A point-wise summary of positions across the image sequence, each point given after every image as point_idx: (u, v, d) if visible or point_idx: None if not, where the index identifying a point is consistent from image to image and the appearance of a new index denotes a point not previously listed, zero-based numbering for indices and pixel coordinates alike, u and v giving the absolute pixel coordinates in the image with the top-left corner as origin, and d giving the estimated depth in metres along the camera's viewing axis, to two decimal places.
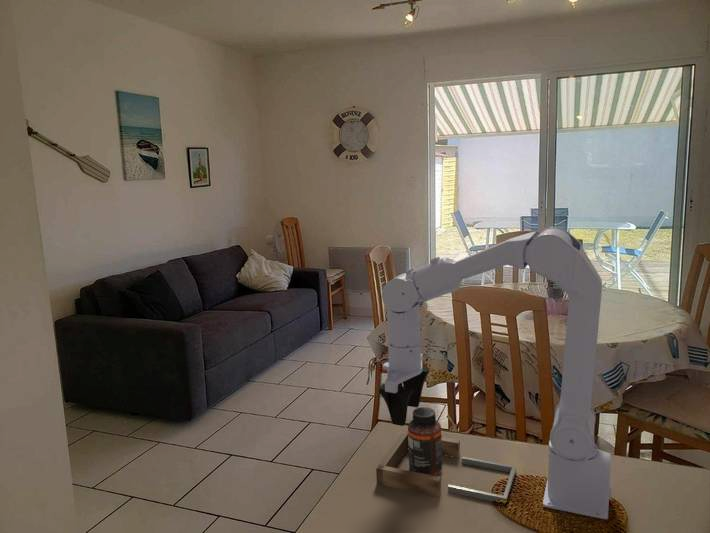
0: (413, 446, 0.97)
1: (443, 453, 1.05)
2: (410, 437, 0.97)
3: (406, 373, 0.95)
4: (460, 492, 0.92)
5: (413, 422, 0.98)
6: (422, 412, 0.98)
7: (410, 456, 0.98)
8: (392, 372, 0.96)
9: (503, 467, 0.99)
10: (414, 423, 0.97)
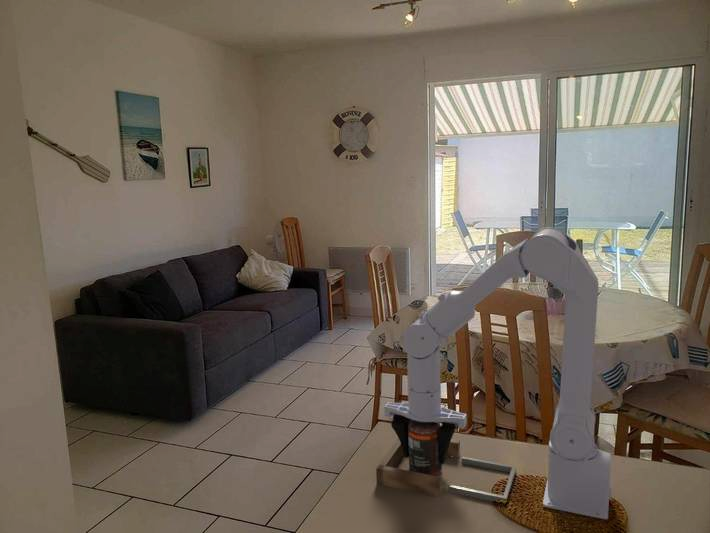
0: (413, 445, 0.97)
1: None
2: (410, 437, 0.97)
3: (407, 411, 0.98)
4: (460, 492, 0.92)
5: (413, 422, 0.98)
6: None
7: (410, 456, 0.98)
8: None
9: (503, 467, 0.99)
10: (414, 423, 0.97)
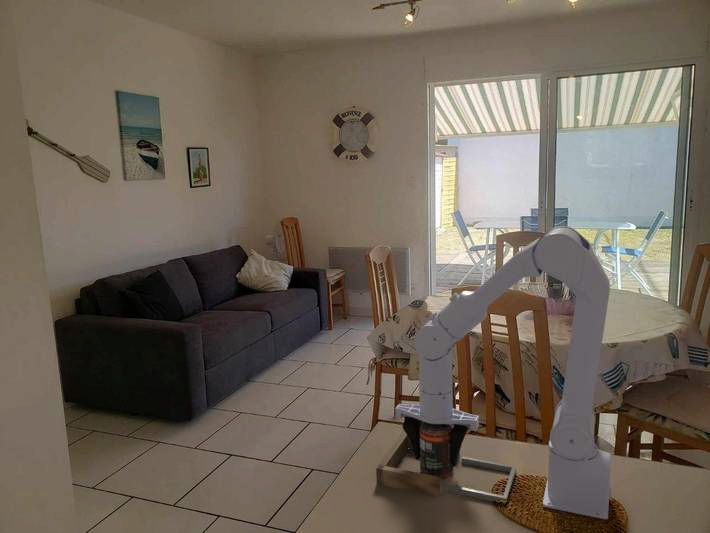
0: (424, 447, 0.96)
1: None
2: (422, 438, 0.96)
3: (419, 413, 0.97)
4: (460, 492, 0.92)
5: (425, 424, 0.97)
6: None
7: (421, 458, 0.98)
8: None
9: (503, 467, 0.99)
10: (426, 424, 0.97)
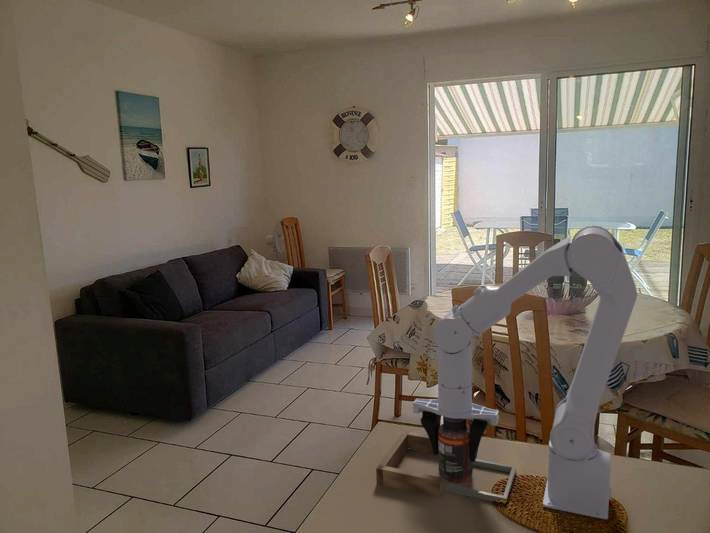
0: (444, 451, 0.95)
1: None
2: (442, 442, 0.95)
3: (437, 407, 0.95)
4: (460, 492, 0.92)
5: (444, 427, 0.96)
6: None
7: (441, 462, 0.96)
8: None
9: (503, 467, 0.99)
10: (445, 428, 0.95)
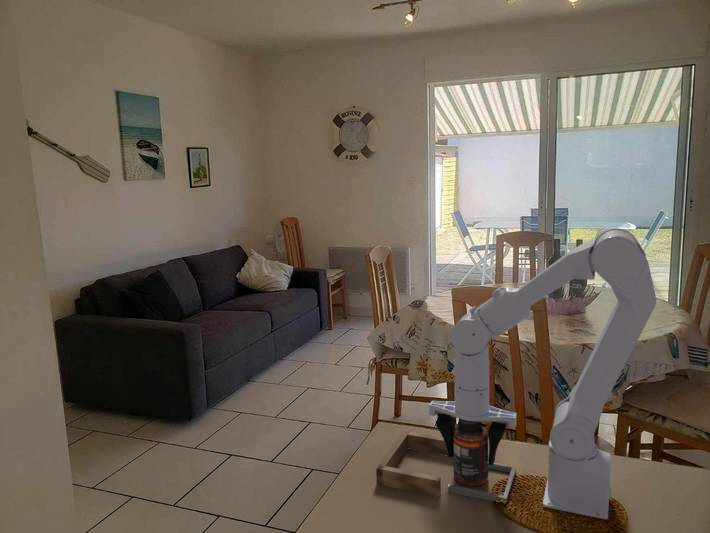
0: (460, 454, 0.94)
1: (443, 453, 1.05)
2: (458, 444, 0.94)
3: (454, 410, 0.94)
4: (460, 492, 0.92)
5: (459, 429, 0.95)
6: None
7: (456, 464, 0.95)
8: None
9: (503, 467, 0.99)
10: (460, 430, 0.94)
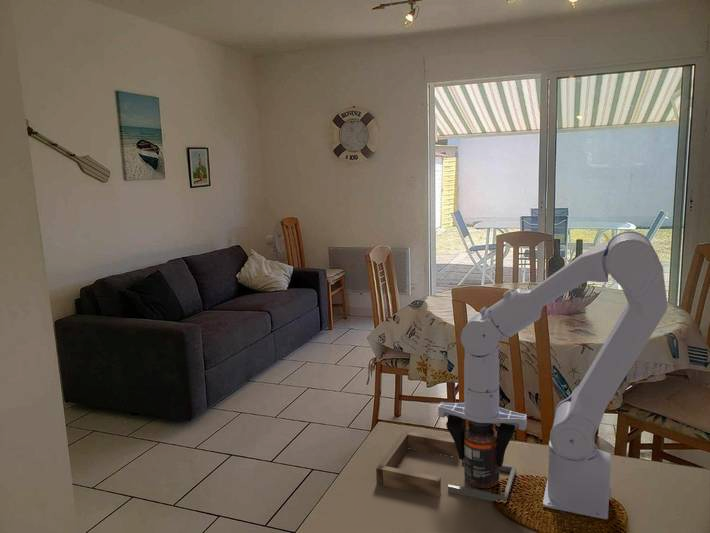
0: (471, 456, 0.93)
1: (443, 453, 1.05)
2: (469, 446, 0.93)
3: (463, 411, 0.94)
4: (460, 492, 0.92)
5: (470, 431, 0.94)
6: None
7: (467, 467, 0.94)
8: None
9: (503, 467, 0.99)
10: (472, 432, 0.93)
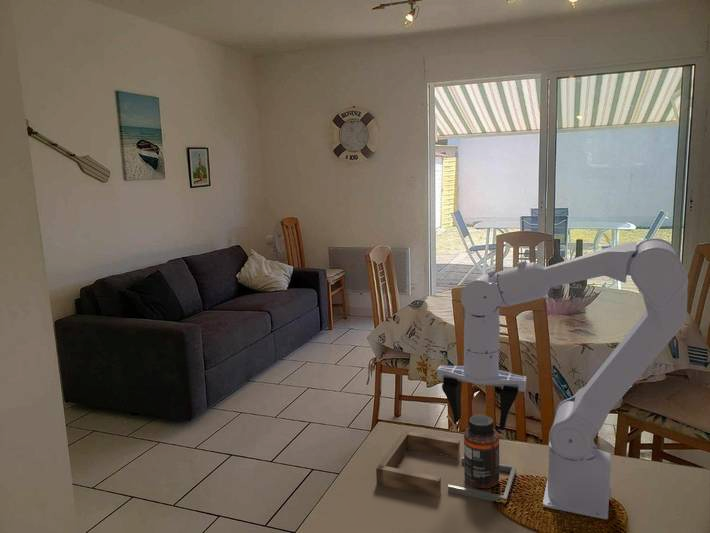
0: (471, 456, 0.93)
1: (443, 453, 1.05)
2: (469, 447, 0.93)
3: (463, 373, 0.93)
4: (460, 492, 0.92)
5: (471, 431, 0.94)
6: (479, 420, 0.94)
7: (468, 467, 0.94)
8: None
9: (503, 467, 0.99)
10: (472, 432, 0.93)
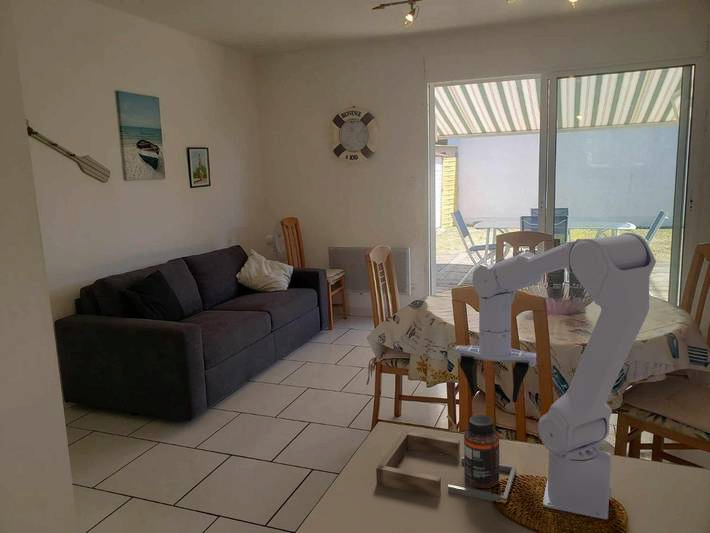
0: (471, 456, 0.93)
1: (443, 453, 1.05)
2: (469, 447, 0.93)
3: (478, 352, 1.03)
4: (460, 492, 0.92)
5: (471, 431, 0.94)
6: (479, 420, 0.94)
7: (468, 467, 0.94)
8: None
9: (503, 467, 0.99)
10: (472, 432, 0.93)
